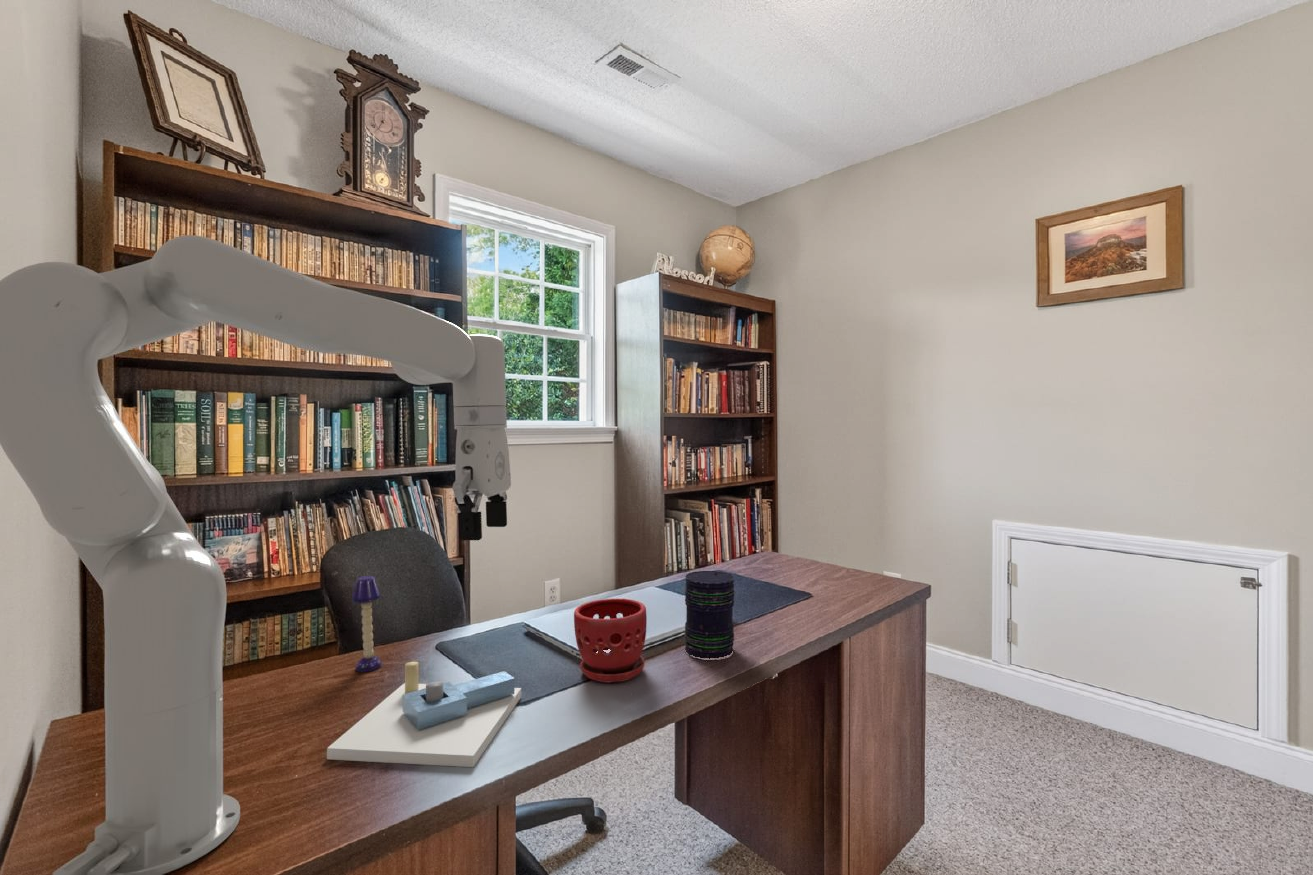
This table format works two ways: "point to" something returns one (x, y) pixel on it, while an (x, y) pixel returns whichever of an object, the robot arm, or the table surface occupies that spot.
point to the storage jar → (709, 614)
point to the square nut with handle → (455, 699)
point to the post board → (422, 730)
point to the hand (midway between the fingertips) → (484, 532)
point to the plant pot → (611, 639)
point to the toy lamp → (367, 620)
